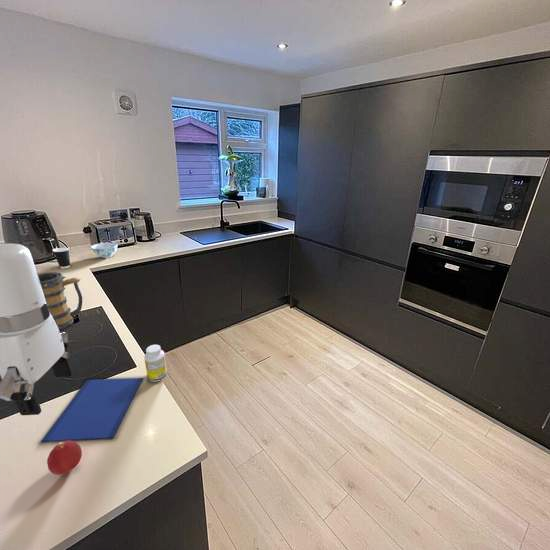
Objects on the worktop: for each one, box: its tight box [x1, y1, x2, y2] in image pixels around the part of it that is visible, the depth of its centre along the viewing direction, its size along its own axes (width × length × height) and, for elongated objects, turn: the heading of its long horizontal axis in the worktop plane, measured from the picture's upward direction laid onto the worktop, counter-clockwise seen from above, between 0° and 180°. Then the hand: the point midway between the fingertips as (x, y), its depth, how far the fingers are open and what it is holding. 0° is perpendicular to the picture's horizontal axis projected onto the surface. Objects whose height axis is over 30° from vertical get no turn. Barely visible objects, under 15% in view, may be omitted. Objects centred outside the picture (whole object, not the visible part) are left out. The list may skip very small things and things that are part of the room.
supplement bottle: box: [143, 344, 168, 382], centre depth 86 cm, size 6×6×10 cm
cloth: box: [41, 377, 144, 443], centre depth 77 cm, size 16×20×1 cm
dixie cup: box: [52, 247, 71, 269], centre depth 170 cm, size 8×8×11 cm
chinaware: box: [91, 242, 118, 259], centre depth 190 cm, size 15×15×8 cm
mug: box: [37, 271, 83, 331], centre depth 111 cm, size 13×17×20 cm
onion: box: [46, 440, 83, 476], centre depth 60 cm, size 6×6×8 cm
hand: (49, 393), depth 56 cm, fingers open, 9 cm apart
